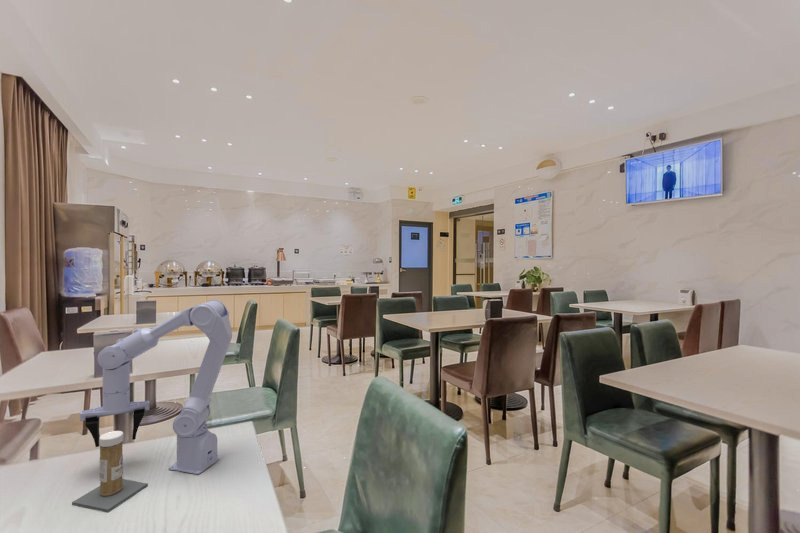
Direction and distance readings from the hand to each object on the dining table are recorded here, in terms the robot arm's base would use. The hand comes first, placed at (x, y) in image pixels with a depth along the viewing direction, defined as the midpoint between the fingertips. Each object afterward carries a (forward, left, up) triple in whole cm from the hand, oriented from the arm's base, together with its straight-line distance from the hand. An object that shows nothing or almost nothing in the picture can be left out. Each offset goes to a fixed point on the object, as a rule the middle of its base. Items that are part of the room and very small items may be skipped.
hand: (116, 441), depth 101 cm
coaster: (-10, +9, -7) cm, 15 cm away
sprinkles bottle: (-9, +9, -7) cm, 14 cm away
